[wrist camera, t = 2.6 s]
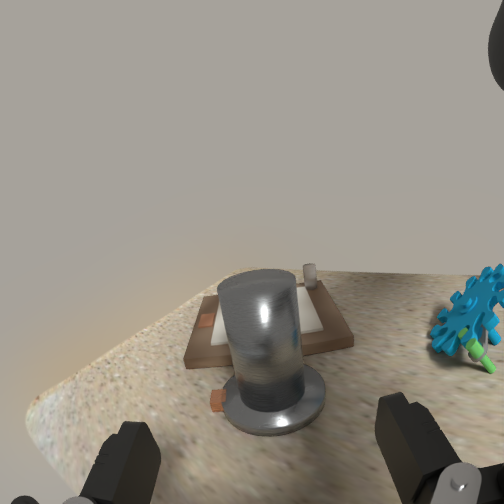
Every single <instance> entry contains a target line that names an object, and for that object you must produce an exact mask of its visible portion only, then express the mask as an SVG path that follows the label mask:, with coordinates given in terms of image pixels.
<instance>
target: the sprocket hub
mask: <svg viewBox="0 0 504 504" xmlns="http://www.w3.org/2000/svg"><path fill="white" fill-rule="evenodd" d="M217 292H218V297H219V302H220V307H221V311H222V316H223V321H224V326H225V331H226V335H227V340H228V345H229V349H230V354H231V358H232V363H233V367H234V372H235V375H234V376H233V377H231V378H230V379H229V380H228V382H227V383H226V384H225V386H224V388H223V389H220V390H212V393H211V399H210V405H211V408H212V411H213V412H219V411H224V413H225V416H226V418H227V419H228V421H229V422H230V423H231V424H232V425H233V426H235V427H236V428H237V429H239V430H241V431H243V432H246V433H248V434H252V435H257V436H280V435H285V434H289V433H292V432H295V431H297V430H300V429H301V428H303V427H305V426H307V425H308V424H310V423H311V422H312V421H313V420H314V419H316V417H317V416H318V415H319V414H320V412H321V411H322V409H323V406H324V403H325V384H324V381H323V378H322V377H321V375H320V374H319V373H318V372H317V371H316V370H314V369H313V368H311V367H309V366H307V365H305V364H303V351H302V340H301V328H300V318H299V307H298V297H297V287H296V278H295V276H294V275H293V274H292V273H290V272H288V271H284V270H278V269H261V270H253V271H248V272H243V273H240V274H237V275H234V276H231V277H229V278H227V279H225V280H224V281H222V282H221V283H220V284H219V285H218V287H217Z"/></svg>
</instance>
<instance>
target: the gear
mask: <svg viewBox="0 0 504 504" xmlns="http://www.w3.org/2000/svg"><path fill="white" fill-rule="evenodd" d="M502 288H504V267H503V265H502V264H499V265H498V266H497V267H496V268H495V270H494V271H493V270H492V268H491V267H485V268H484V269H483V271H482V273H481V276H480V278H479V279H478V280H477V278H476V277H475V276H473V277H471V278H470V279H468V280H467V281H466V289H465V292H464V294H463V295H462V294H461V293H460V292H459V291H457V292H456V293H454V294H453V295H452V296H451V297H450V301H451V302H452V303H453V304H454V305H453V309H452V310H451V311H450V312H449V311H448V310H447V309H446V308H444V309H443V310H442V311H441V312H440V313H439V315H438V316H437V318H438V319H439V320H440V321H441V323H445V322H446V323H445V324H444V325H443V326H440V325H436V326H434V327H433V329H432V331H431V333H430V335H431V337H432V338H433V339H434V340H433V341H432V347H433V349H434V350H435V351H436V352H437V353H439V352H440V351H442V350H444V352H445V353H446V354H447V355H449V356H453V355H454V354H455V353H456V351H457V349H458V347H459V345H460V343H461V344H462V345H463V346H464V347H465V349H467V350H468V351H469V353H468V356H469V357H470V358H471V360H472V361H473V362H478V361H480V362H481V363H482V364H483V366H484V367H485V368H486V369H487V371H488V372H489V373H490V374H492V373H493V372H494V371H495V370H496V367H495V366H494V364H493V363H492V362H491V360H490V359H489V358H488V356H487V355H486V353H487V350H488V338H489V340H490V341H491V342H492V344H493V345H497V344H498V343H499V342H500V341H501V337H500V336H499V334H498V333H497V332H496V330H495V329H494V327H496V326H497V324H498V323H499V318H498V317H497V316H496V314H495V313H494V312H493V307H494V306H495V305H496V304H497V303H498V302H499V304H500V305H501V306H502V308H504V290H502V291H499V290H500V289H502Z"/></svg>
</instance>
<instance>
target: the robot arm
mask: <svg viewBox="0 0 504 504" xmlns="http://www.w3.org/2000/svg"><path fill="white" fill-rule="evenodd" d="M488 56H489V63H490V67H491V71H492V74H493V76H494V79H495V80H496V82H497V84H498V85H499V86H500V87H501V89H502V90H504V0H503V1H502V4H501V6H500V9H499V11H498V13H497V16H496V18H495V21H494V23H493V26H492V28H491V32H490V35H489V43H488ZM375 436H376V440H377V443H378V445H379V447H380V450H381V452H382V455H383V457H384V459H385V462H386V464H387V467H388V469H389V472H390V474H391V477H392V479H393V482H394V484H395V487H396V489H397V492H398V494H399V497H400V499H401V502H402V504H504V463H502V464H497V465H493V466H489V467H484V468H476V467H475V466H474V465H472V464H469V463H463V462H462V461H461V460H460V459H459V457H458V456H457V454H456V452H455V451H454V449H453V448H452V446H451V444H450V443H449V441H448V440H447V438H446V436H445V435H444V433H443V432H442V430H440V427H439V425H438V424H437V422H436V421H435V419H434V418H433V416H432V415H431V413H430V412H429V410H428V409H427V408H425V407H424V406H422V405H421V404H419V403H418V402H414V403H411V404H409V402H408V401H407V399H406V398H405V396H404V394H403V393H402V392H398V393H395V394H391V395H387V396H384V397H380V399H379V402H378V409H377V416H376V422H375ZM160 463H161V454H160V449H159V447H158V445H157V443H156V441H155V439H154V437H153V435H152V433H151V431H150V429H149V427H148V425H147V424H146V423H145V422H130V421H125V422H123V423H122V425H121V428H120V430H119V432H118V434H112V435H111V436H110V437H109V438H108V439H107V440H106V441H105V442H104V443H103V445H102V447H101V449H100V451H99V455H98V456H97V458H96V460H95V464H93V466H92V469H91V471H90V473H89V475H88V478H87V480H86V482H85V484H84V487H83V489H82V491H81V493H80V495H79V496H78V497H72V498H70V499H68V500H66V501H65V502H64V503H63V504H150V502H151V498H152V494H153V490H154V486H155V482H156V478H157V475H158V471H159V467H160ZM11 504H39V503H38V502H37V501H36V500H35V499H34V498H32V497H30V496H19V497H17V498H16V499H14V500H13V501H12V503H11Z"/></svg>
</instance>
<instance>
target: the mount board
mask: <svg viewBox="0 0 504 504" xmlns="http://www.w3.org/2000/svg"><path fill="white" fill-rule="evenodd" d="M303 273H304V283H300V284H296V287H297V297H298V307H299V318H300V328H301V340H302V351H303V356H304V355H310V354H316V353H322V352H327V351H332V350H338V349H343V348H348V347H353V346H354V336H353V334H352V332H351V330H350V329H349V327H348V325H347V324H346V322H345V320H344V318H343V317H342V315H341V313H340V312H339V310H338V308H337V307H336V305H335V303H334V302H333V300H332V298H331V297H330V295H329V293H328V292H327V290H326V288H325V287H324V285H323V283H322V282H321V280H319V281H317V278H316V267H315V264H305V265H303ZM184 363H185V366H186V369H194V368H207V367H218V366H229V365H233V363H232V358H231V354H230V349H229V345H228V340H227V335H226V331H225V326H224V321H223V316H222V311H221V307H220V302H219V297H218V295H214V296H206V297H204V298H203V301H202V304H201V307H200V310H199V313H198V316H197V319H196V322H195V325H194V328H193V331H192V334H191V337H190V340H189V343H188V346H187V349H186V352H185V355H184Z"/></svg>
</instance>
